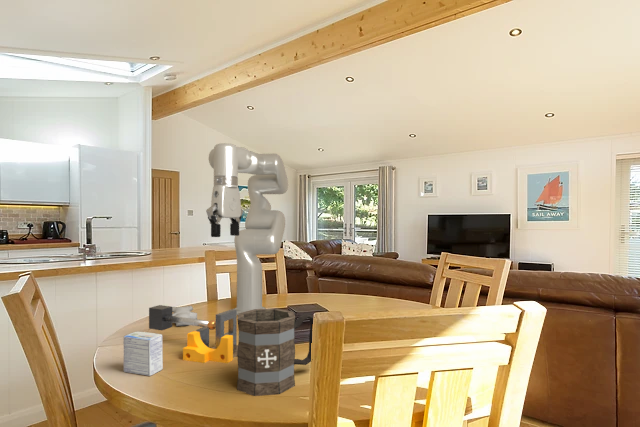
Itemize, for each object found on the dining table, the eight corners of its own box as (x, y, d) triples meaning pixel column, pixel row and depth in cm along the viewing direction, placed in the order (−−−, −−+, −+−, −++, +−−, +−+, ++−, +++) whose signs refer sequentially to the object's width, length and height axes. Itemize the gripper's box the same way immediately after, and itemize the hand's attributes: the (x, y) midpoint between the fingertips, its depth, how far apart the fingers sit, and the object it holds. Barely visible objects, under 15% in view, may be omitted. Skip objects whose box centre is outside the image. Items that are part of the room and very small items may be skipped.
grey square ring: (191, 352, 110) (191, 311, 110) (208, 344, 116) (208, 306, 116) (230, 359, 104) (230, 316, 104) (246, 351, 111) (246, 310, 111)
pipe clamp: (182, 360, 104) (183, 335, 104) (193, 355, 108) (193, 331, 108) (223, 366, 100) (223, 340, 100) (232, 360, 104) (233, 335, 104)
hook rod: (148, 328, 118) (149, 307, 118) (159, 325, 122) (159, 305, 122) (211, 338, 109) (211, 316, 109) (220, 334, 112) (220, 312, 112)
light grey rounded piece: (167, 316, 132) (167, 302, 146) (167, 332, 132) (167, 315, 146) (198, 314, 135) (195, 300, 149) (198, 329, 136) (195, 313, 150)
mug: (249, 402, 81) (249, 326, 81) (226, 378, 92) (226, 312, 92) (331, 381, 91) (331, 314, 91) (301, 362, 103) (301, 303, 103)
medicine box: (163, 370, 97) (163, 333, 97) (149, 377, 93) (150, 339, 93) (137, 365, 100) (137, 330, 100) (122, 372, 96) (123, 335, 96)
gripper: (217, 180, 120) (217, 238, 120) (250, 184, 136) (250, 235, 136) (198, 181, 124) (197, 237, 124) (232, 184, 139) (232, 234, 139)
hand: (225, 236), depth 130 cm, fingers open, 9 cm apart
